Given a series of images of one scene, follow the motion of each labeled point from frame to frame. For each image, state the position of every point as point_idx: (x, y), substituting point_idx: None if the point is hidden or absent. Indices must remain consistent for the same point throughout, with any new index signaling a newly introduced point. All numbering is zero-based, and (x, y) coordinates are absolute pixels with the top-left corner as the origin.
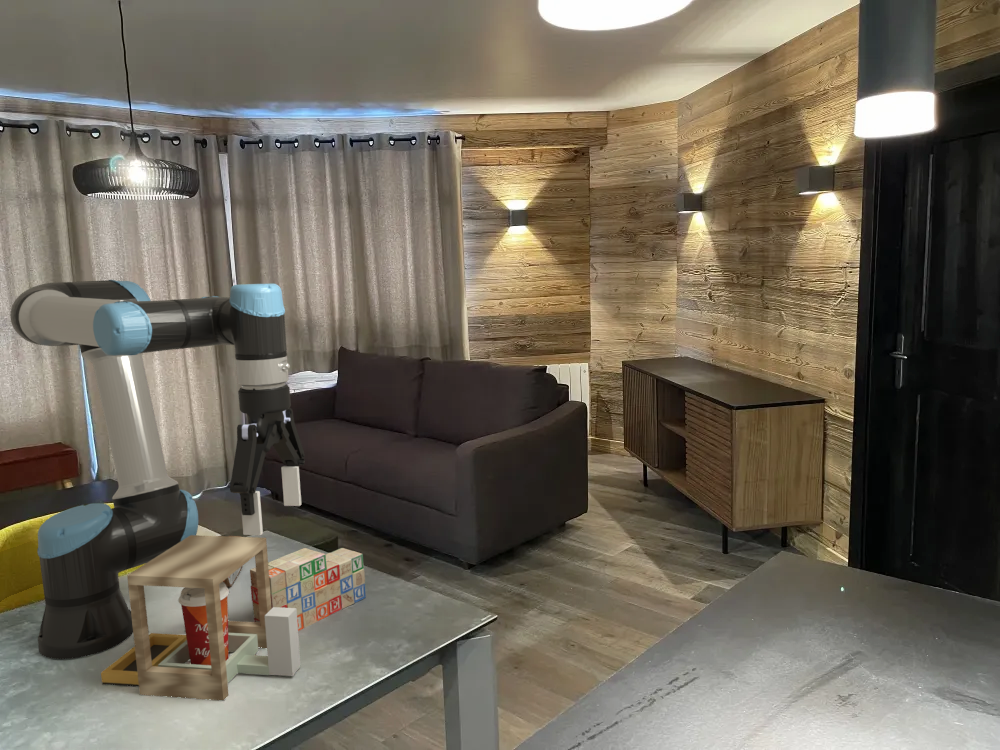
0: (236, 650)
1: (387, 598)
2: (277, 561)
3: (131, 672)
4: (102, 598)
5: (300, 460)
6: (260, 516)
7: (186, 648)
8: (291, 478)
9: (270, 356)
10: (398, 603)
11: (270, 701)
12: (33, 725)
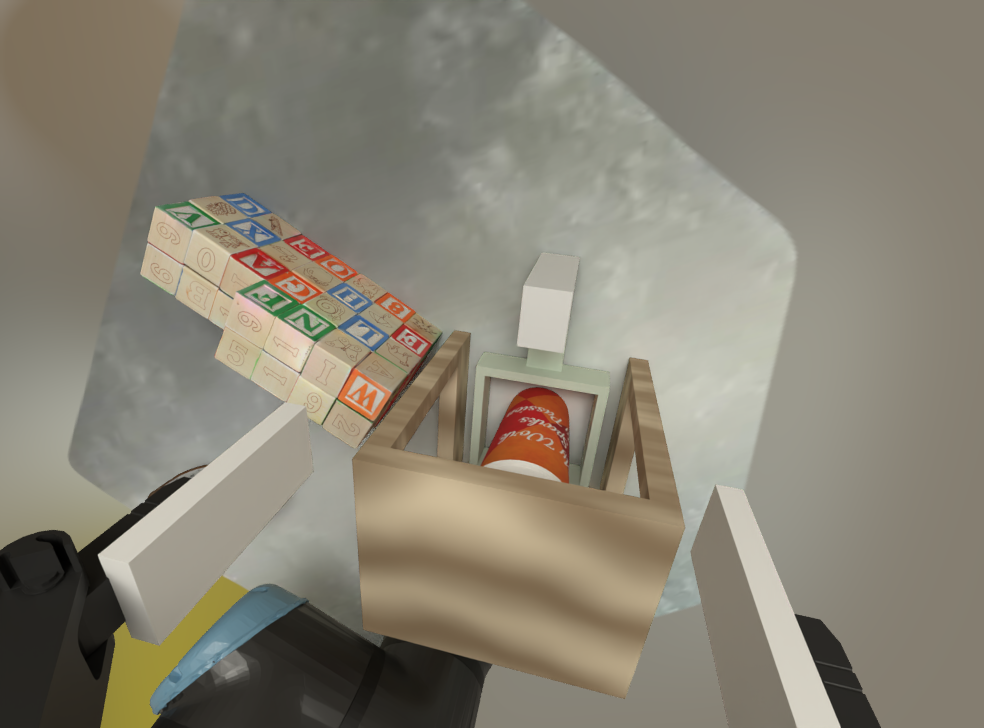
0: (539, 384)
1: (233, 136)
2: (303, 401)
3: None
4: None
5: (24, 577)
6: (757, 563)
7: None
8: (205, 534)
9: None
10: (249, 99)
11: (659, 275)
12: (682, 585)
